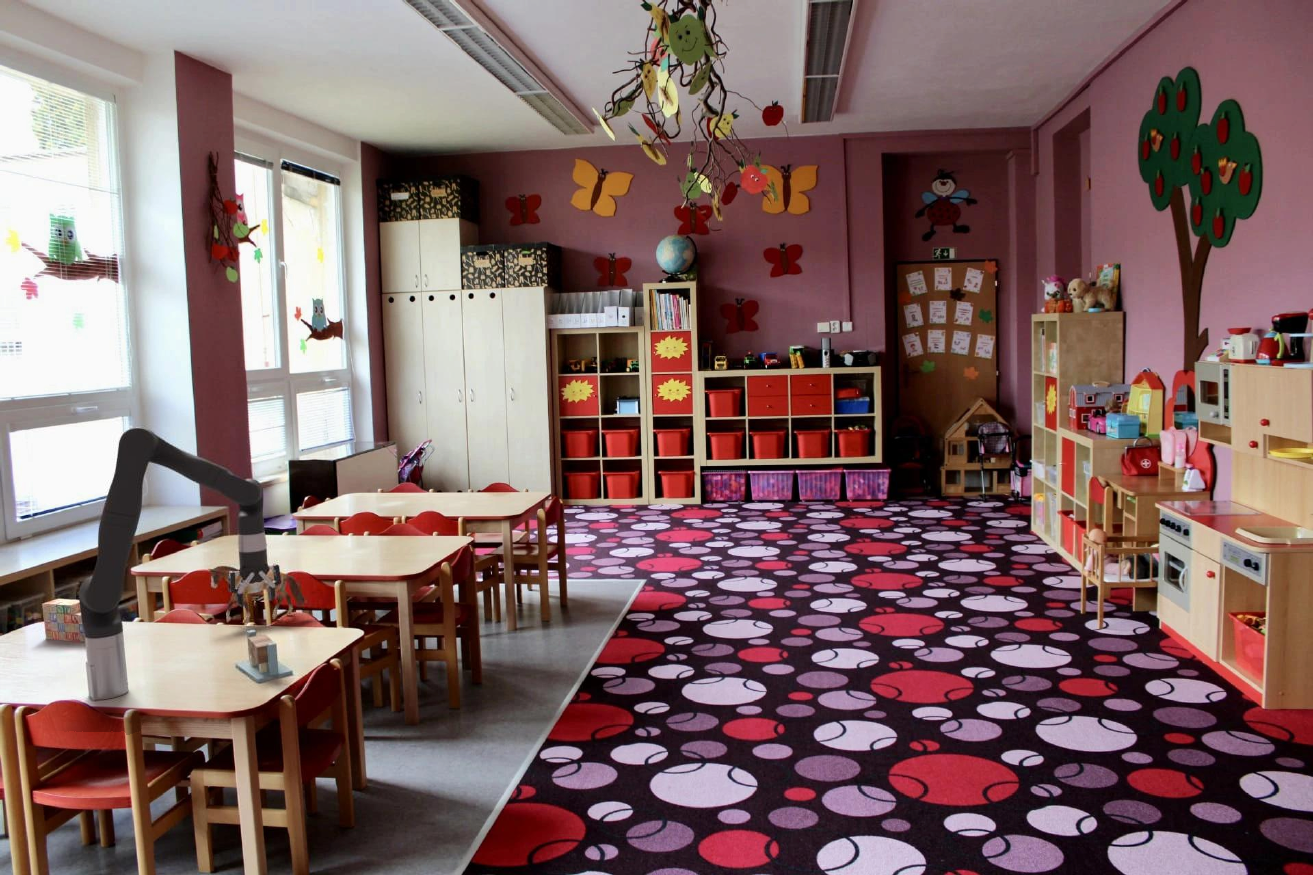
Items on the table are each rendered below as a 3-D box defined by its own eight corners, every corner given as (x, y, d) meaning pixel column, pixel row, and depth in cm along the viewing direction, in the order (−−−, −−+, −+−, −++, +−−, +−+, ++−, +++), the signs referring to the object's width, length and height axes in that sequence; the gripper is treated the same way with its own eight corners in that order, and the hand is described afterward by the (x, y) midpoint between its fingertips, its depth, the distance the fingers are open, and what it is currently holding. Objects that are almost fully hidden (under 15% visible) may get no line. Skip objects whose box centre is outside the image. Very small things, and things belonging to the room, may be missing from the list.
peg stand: (257, 682, 277) (254, 648, 275) (235, 666, 291) (233, 634, 290) (292, 673, 283) (290, 640, 282) (269, 658, 297) (267, 626, 296)
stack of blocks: (110, 637, 325) (107, 601, 324) (94, 643, 319) (90, 606, 318) (61, 633, 332) (58, 597, 330) (45, 638, 326) (41, 602, 324)
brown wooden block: (249, 653, 290) (247, 637, 289) (266, 650, 293) (265, 634, 292) (258, 664, 280) (257, 647, 280) (276, 660, 283) (275, 643, 282)
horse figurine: (211, 627, 332) (206, 568, 330) (216, 621, 340) (211, 563, 338) (307, 618, 340) (303, 560, 338) (310, 612, 347) (306, 555, 345)
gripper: (272, 542, 290) (276, 595, 292) (222, 550, 281) (226, 605, 283) (282, 546, 285) (285, 600, 286) (231, 554, 275) (235, 610, 277)
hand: (256, 602), depth 285 cm, fingers open, 8 cm apart
